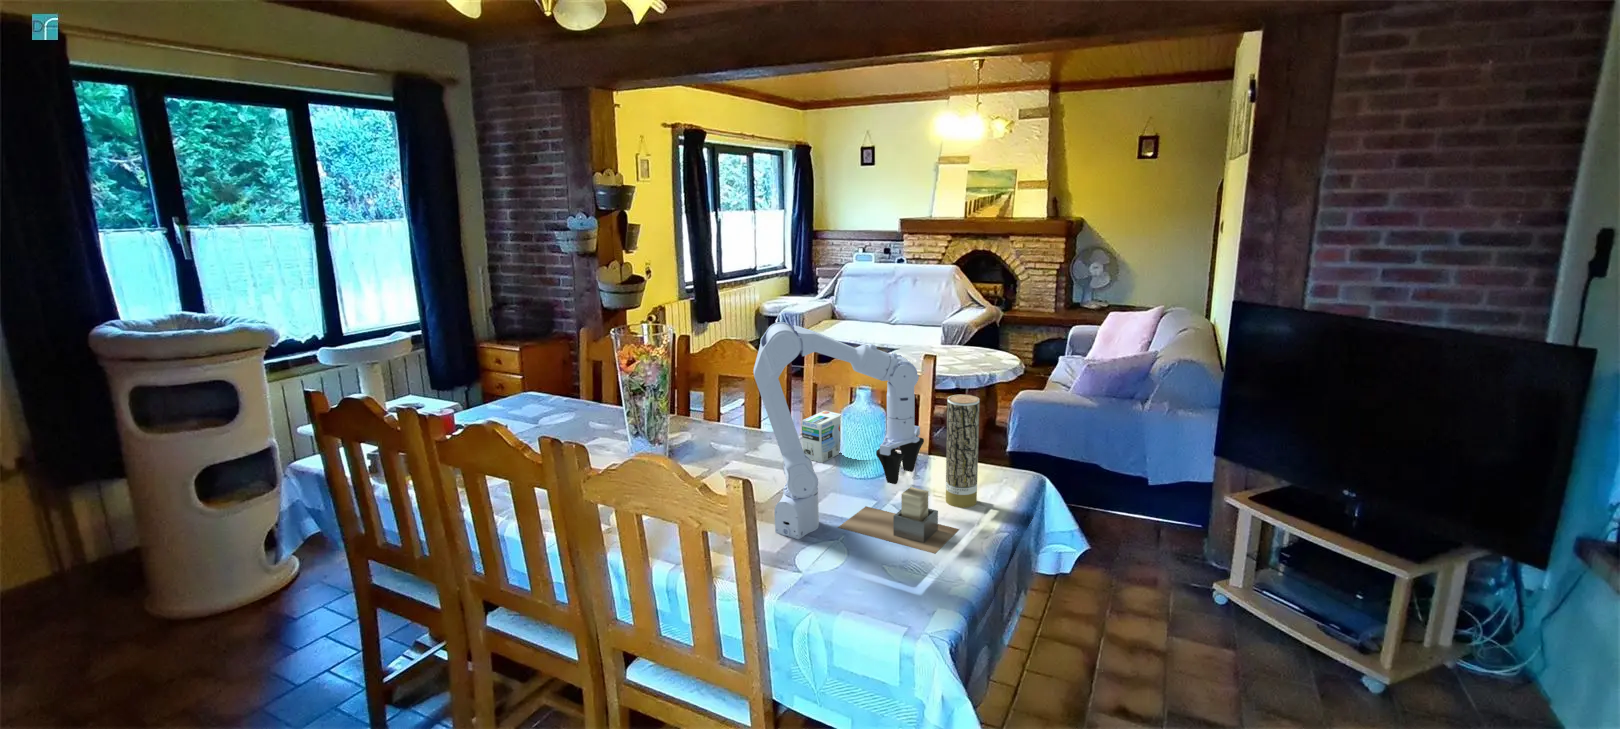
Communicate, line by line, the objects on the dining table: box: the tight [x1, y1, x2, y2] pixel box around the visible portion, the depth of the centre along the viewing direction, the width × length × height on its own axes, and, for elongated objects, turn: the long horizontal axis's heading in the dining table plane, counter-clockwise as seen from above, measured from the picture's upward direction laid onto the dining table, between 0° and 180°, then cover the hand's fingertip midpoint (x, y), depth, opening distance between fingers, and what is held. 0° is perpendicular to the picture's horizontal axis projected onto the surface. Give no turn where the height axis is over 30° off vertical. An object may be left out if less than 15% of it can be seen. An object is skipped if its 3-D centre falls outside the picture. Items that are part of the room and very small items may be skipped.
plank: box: [837, 505, 960, 554], centre depth 154 cm, size 12×22×1 cm, turn 56°
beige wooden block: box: [901, 486, 929, 521], centre depth 151 cm, size 4×4×8 cm
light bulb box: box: [801, 410, 842, 464], centre depth 199 cm, size 11×7×11 cm, turn 143°
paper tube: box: [945, 394, 980, 509], centre depth 163 cm, size 7×7×25 cm
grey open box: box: [893, 507, 939, 543], centre depth 151 cm, size 7×7×4 cm
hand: (900, 476), depth 157 cm, fingers open, 7 cm apart
